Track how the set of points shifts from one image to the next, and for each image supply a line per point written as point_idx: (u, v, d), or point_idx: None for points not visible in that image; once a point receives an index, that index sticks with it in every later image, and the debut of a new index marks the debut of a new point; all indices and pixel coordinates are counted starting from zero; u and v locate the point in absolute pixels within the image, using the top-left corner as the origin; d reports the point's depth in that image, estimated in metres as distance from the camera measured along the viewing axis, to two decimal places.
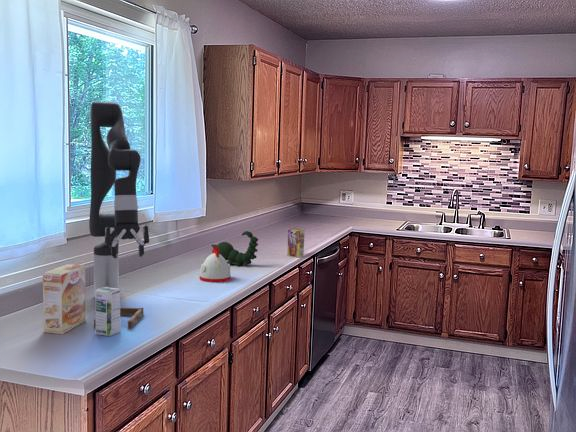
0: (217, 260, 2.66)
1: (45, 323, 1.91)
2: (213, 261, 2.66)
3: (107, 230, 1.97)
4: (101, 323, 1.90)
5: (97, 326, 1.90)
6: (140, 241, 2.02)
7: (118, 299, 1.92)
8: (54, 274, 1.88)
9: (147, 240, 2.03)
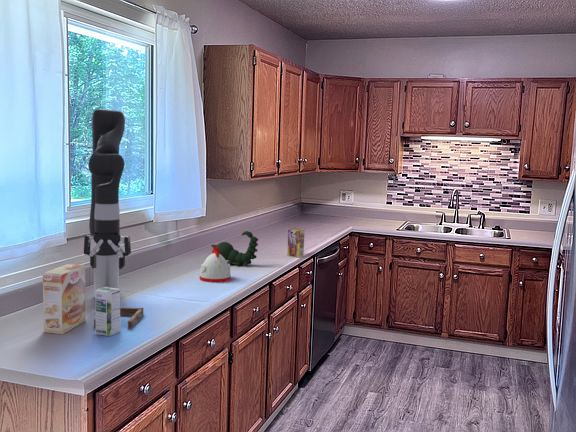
0: (217, 260, 2.66)
1: (45, 323, 1.91)
2: (213, 261, 2.66)
3: (85, 239, 1.88)
4: (101, 323, 1.90)
5: (97, 326, 1.90)
6: (119, 253, 1.88)
7: (118, 299, 1.92)
8: (54, 274, 1.88)
9: (126, 252, 1.88)
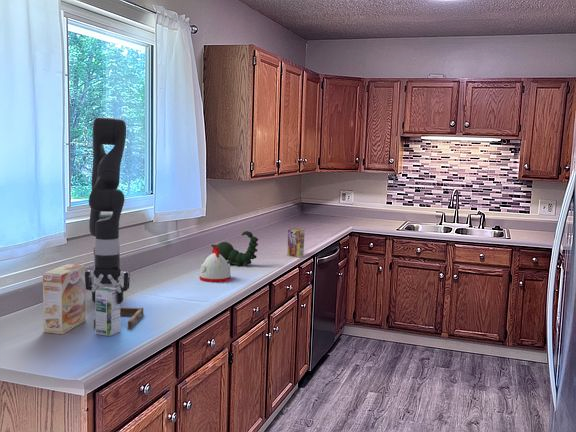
0: (217, 260, 2.66)
1: (45, 323, 1.91)
2: (213, 260, 2.66)
3: (85, 274, 1.89)
4: (101, 323, 1.90)
5: (97, 326, 1.90)
6: (118, 288, 1.90)
7: None
8: (54, 274, 1.88)
9: (125, 288, 1.90)
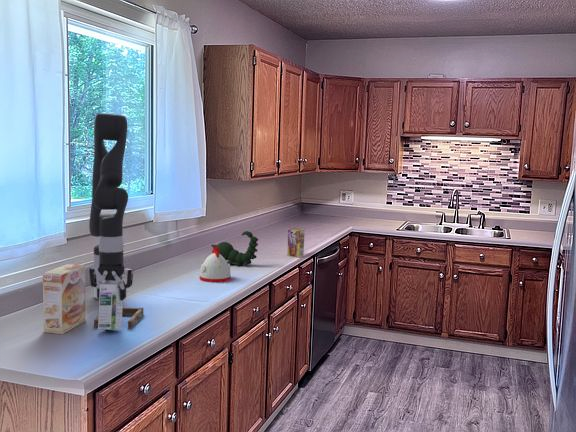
0: (217, 260, 2.66)
1: (45, 323, 1.91)
2: (213, 261, 2.66)
3: (90, 272, 1.93)
4: (105, 316, 1.91)
5: (100, 321, 1.91)
6: (121, 285, 1.94)
7: None
8: (54, 274, 1.88)
9: (128, 285, 1.94)
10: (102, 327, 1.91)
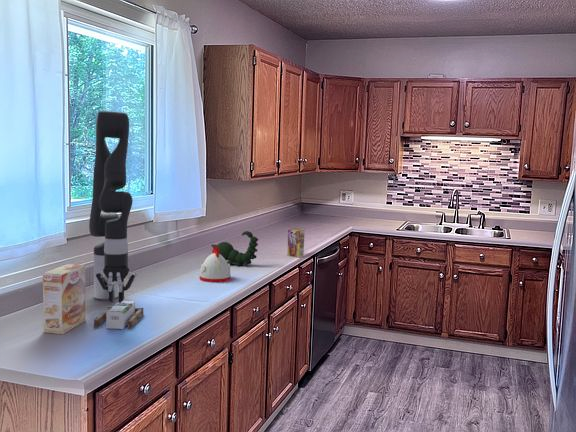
0: (217, 260, 2.66)
1: (45, 323, 1.91)
2: (213, 261, 2.66)
3: (97, 277, 1.99)
4: (117, 308, 2.00)
5: (111, 310, 1.98)
6: (120, 287, 1.99)
7: None
8: (54, 274, 1.88)
9: (125, 287, 1.99)
10: (111, 311, 1.96)
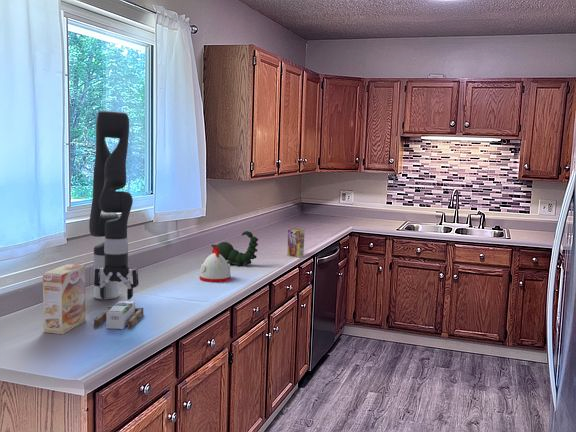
0: (217, 260, 2.66)
1: (45, 323, 1.91)
2: (213, 260, 2.66)
3: (95, 271, 1.99)
4: (117, 308, 2.00)
5: (111, 310, 1.98)
6: (127, 285, 1.99)
7: None
8: (54, 274, 1.88)
9: (134, 284, 1.99)
10: (111, 311, 1.96)
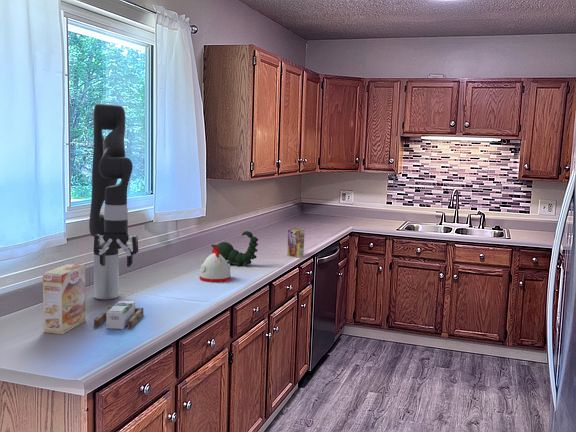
0: (217, 260, 2.66)
1: (45, 323, 1.91)
2: (213, 261, 2.66)
3: (95, 238, 1.97)
4: (117, 308, 2.00)
5: (111, 310, 1.98)
6: (127, 251, 1.98)
7: None
8: (54, 274, 1.88)
9: (134, 251, 1.98)
10: (111, 311, 1.96)
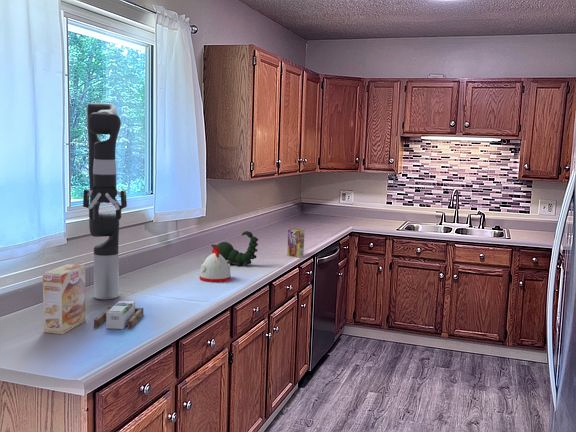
0: (217, 260, 2.66)
1: (45, 323, 1.91)
2: (213, 261, 2.66)
3: (84, 192, 2.03)
4: (117, 308, 2.00)
5: (111, 310, 1.98)
6: (116, 206, 2.04)
7: None
8: (54, 274, 1.88)
9: (123, 205, 2.03)
10: (111, 311, 1.96)
